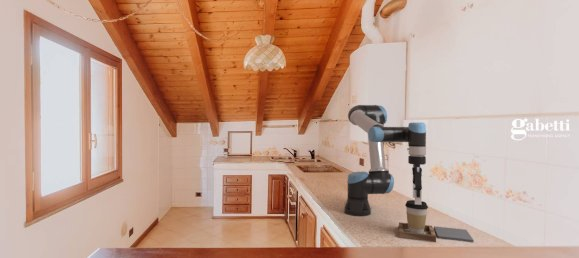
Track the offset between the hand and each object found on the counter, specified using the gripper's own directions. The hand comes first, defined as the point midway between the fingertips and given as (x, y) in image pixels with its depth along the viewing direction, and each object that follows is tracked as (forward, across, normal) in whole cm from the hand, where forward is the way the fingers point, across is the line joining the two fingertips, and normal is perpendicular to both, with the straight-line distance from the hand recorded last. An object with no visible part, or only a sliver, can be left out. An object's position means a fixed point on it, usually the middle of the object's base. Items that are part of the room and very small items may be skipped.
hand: (416, 201), depth 140 cm
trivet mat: (+16, -6, +16) cm, 23 cm away
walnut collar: (+16, 0, 0) cm, 16 cm away
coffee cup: (+16, 0, 0) cm, 16 cm away
